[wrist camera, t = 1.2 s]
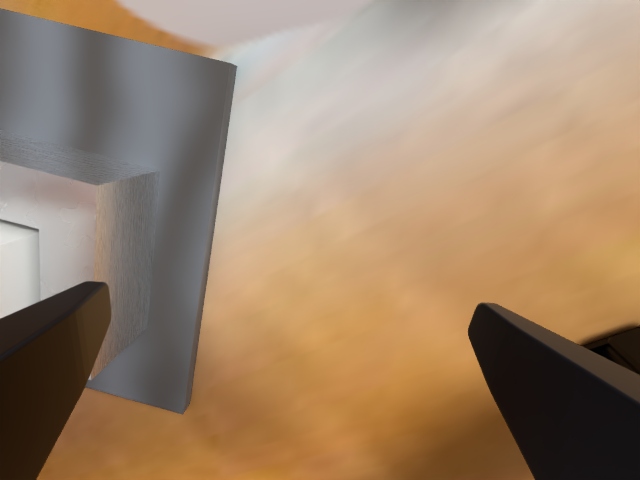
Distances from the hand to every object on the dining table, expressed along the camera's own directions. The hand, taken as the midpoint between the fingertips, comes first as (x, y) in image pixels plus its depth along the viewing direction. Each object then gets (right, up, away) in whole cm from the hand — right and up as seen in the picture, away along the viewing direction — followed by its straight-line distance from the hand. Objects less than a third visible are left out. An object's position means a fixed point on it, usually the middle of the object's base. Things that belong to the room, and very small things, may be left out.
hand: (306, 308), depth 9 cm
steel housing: (-14, +2, +13) cm, 19 cm away
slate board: (-14, +2, +14) cm, 20 cm away
